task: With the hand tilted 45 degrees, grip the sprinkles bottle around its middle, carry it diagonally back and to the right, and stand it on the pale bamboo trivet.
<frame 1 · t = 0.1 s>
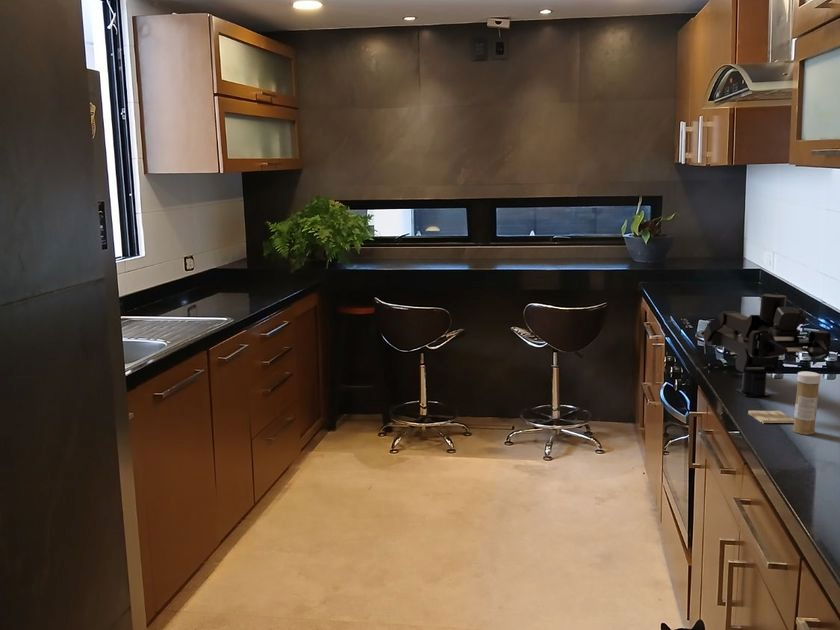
hand: (806, 351, 190), 17 cm above the worktop, tool horizontal, fingers open, 9 cm apart
sprinkles bottle: (803, 433, 185), on the worktop
trivet: (771, 418, 195), on the worktop
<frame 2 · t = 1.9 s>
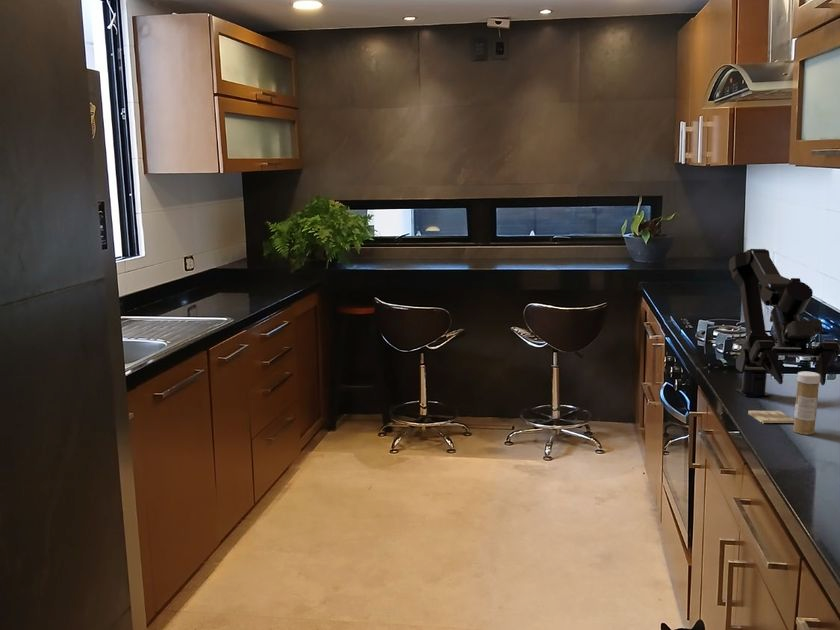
hand: (802, 383, 186), 10 cm above the worktop, tool tilted 45°, fingers open, 9 cm apart
nothing on the worktop moved.
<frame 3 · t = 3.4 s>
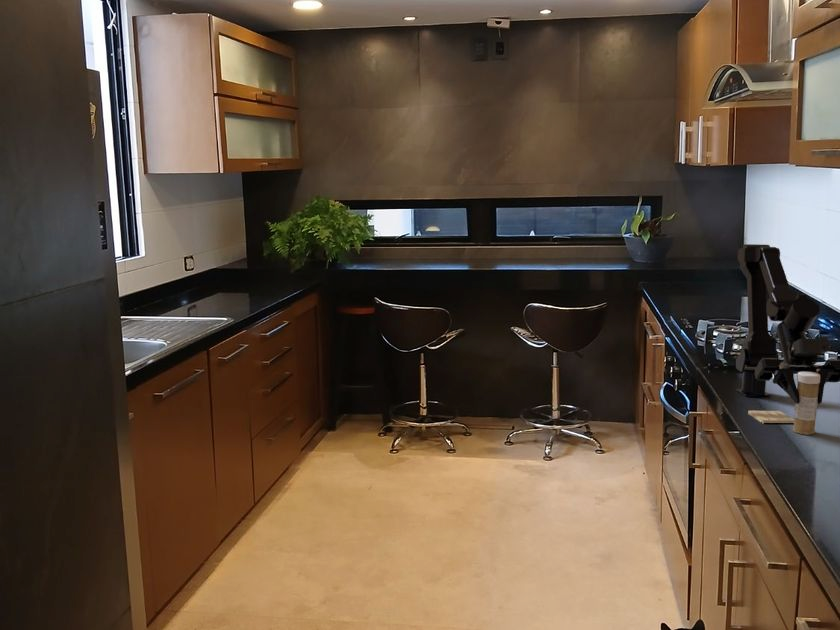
hand: (809, 403, 182), 7 cm above the worktop, tool tilted 45°, fingers closed on sprinkles bottle, 4 cm apart
sprinkles bottle: (803, 433, 185), on the worktop, touching gripper
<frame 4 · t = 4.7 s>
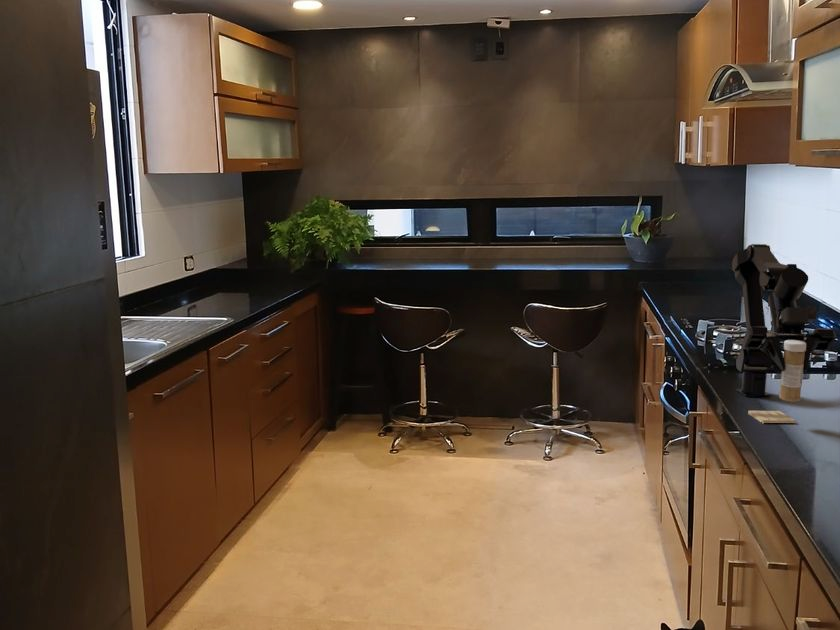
hand: (794, 370, 186), 13 cm above the worktop, tool tilted 45°, fingers closed on sprinkles bottle, 4 cm apart
sprinkles bottle: (789, 400, 189), point 6 cm above the worktop, touching gripper
when the fingers open (9 cm above the worktop, at t = 6.2 s): sprinkles bottle stays where it is, resting on trivet.
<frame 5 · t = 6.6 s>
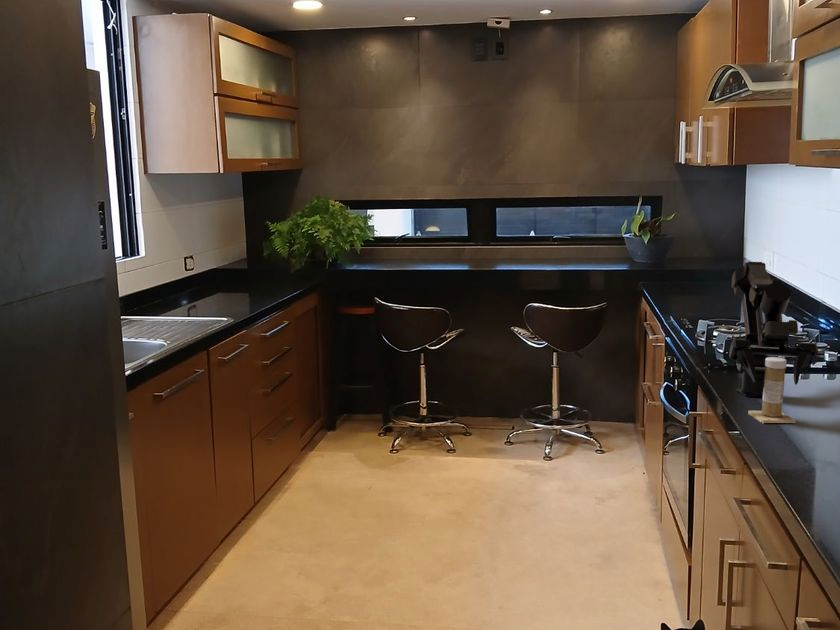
hand: (775, 382, 192), 9 cm above the worktop, tool tilted 45°, fingers open, 9 cm apart
sprinkles bottle: (771, 415, 195), point 1 cm above the worktop, touching trivet
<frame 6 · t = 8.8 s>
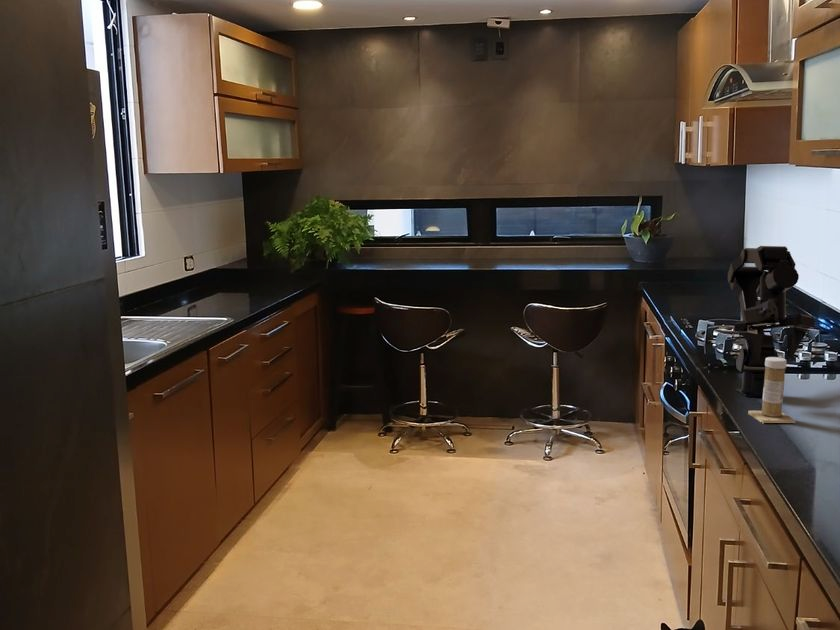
hand: (773, 360, 200), 12 cm above the worktop, tool tilted 20°, fingers open, 9 cm apart
nothing on the worktop moved.
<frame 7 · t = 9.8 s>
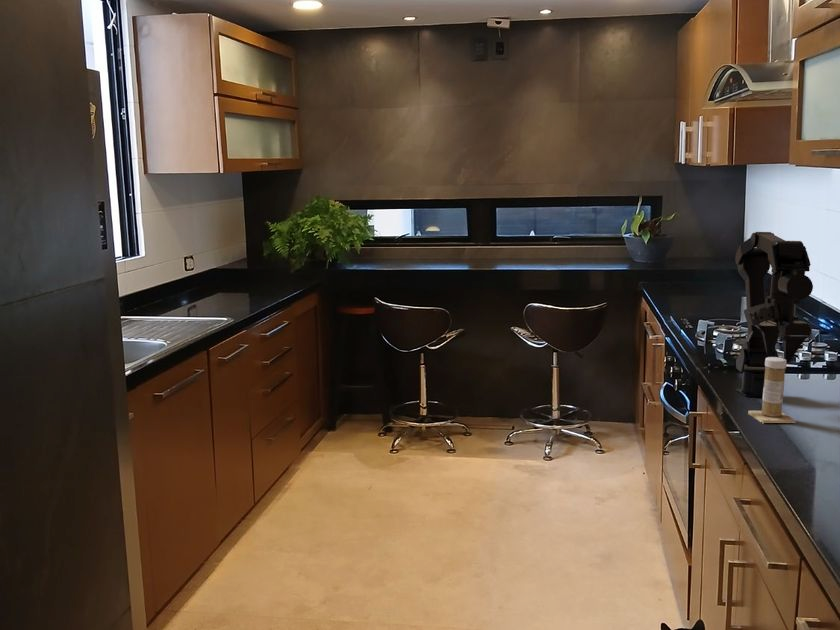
hand: (777, 358, 199), 13 cm above the worktop, tool pointing down, fingers open, 9 cm apart
nothing on the worktop moved.
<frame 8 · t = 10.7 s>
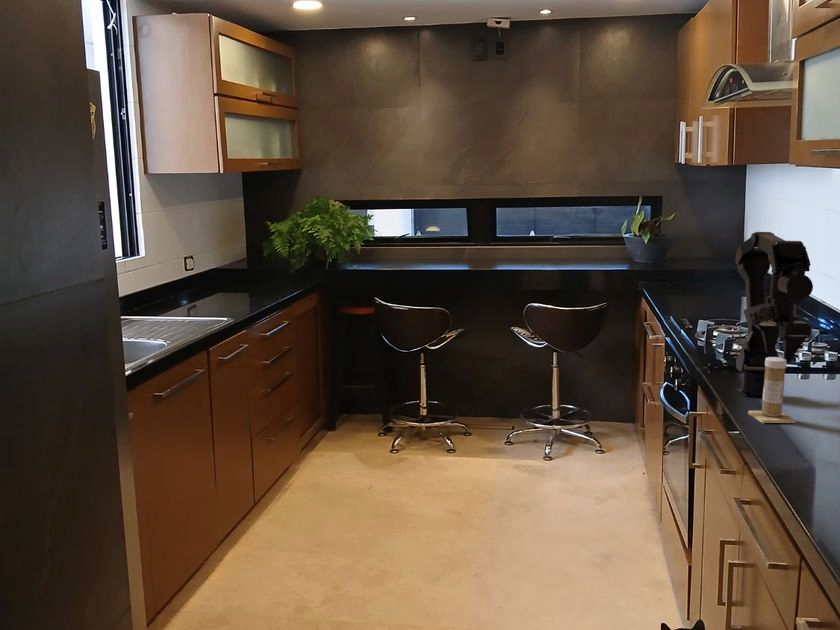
hand: (777, 358, 199), 13 cm above the worktop, tool pointing down, fingers open, 9 cm apart
nothing on the worktop moved.
at the end: sprinkles bottle inside the target area on the trivet (0.2 cm from its centre), point 0.7 cm above the trivet's base; sprinkles bottle tilted 0°; the gripper is holding nothing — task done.
